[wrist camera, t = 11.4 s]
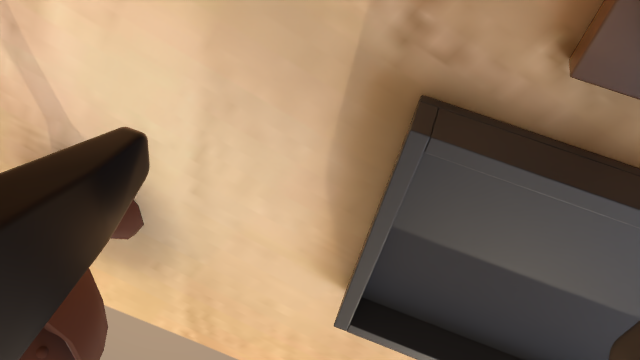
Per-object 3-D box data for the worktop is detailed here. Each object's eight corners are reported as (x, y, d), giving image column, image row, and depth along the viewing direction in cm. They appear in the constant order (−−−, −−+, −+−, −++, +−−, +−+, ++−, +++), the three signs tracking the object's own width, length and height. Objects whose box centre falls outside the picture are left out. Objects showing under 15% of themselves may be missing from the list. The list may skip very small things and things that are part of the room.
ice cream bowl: (-6, 140, 33) (-274, 348, 22) (132, 132, 28) (-122, 390, 17) (84, 257, 39) (-92, 464, 28) (208, 266, 34) (55, 517, 24)
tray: (882, 250, 19) (915, 306, 17) (640, 406, 29) (645, 450, 28) (421, 94, 21) (409, 129, 19) (345, 291, 31) (333, 326, 29)
